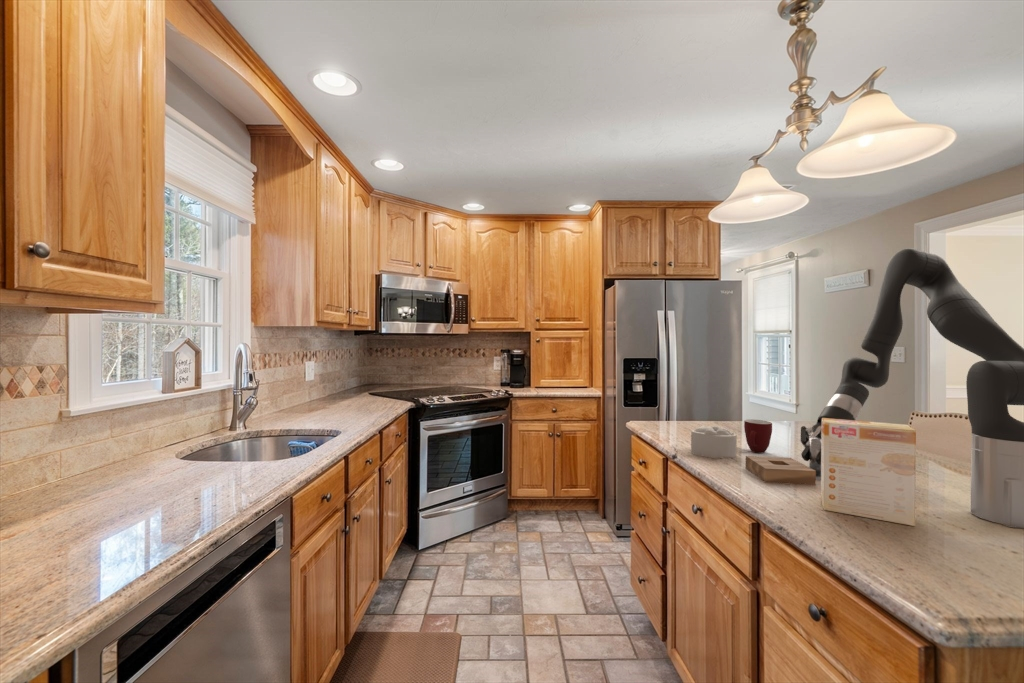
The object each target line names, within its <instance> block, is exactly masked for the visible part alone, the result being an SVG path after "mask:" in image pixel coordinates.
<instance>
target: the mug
mask: <svg viewBox="0 0 1024 683" xmlns="http://www.w3.org/2000/svg"><path fill="white" fill-rule="evenodd" d="M743 424H744V425H743V426H744V433H745V434H744V435H745V440H746V444H747V446H748V447H749V449H750V451H751V452H752V453H758V454H764V453H765V452H766V451H767V449H768V448H769V446H770V443H771V439H772V434H773V422H772V421H768V420H761V419H745V420H744V423H743Z"/></svg>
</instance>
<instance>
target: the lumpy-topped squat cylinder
mask: <svg viewBox="0 0 1024 683" xmlns="http://www.w3.org/2000/svg"><path fill="white" fill-rule="evenodd" d="M737 439H738V438H737V434H736V433H734V432H731V431H730V430H729V429H727V428H725V427H720V426H719V425H712V426H708V425H699V427H697V428H695V429H692V430H691V431H690V453H691V454H693V455H695V456H701V457H704V458H705V457H706V458H712V459H718V460H721V459H722V460H723V458H725V459H728V458H729V459H730V458H737V446H738V445H737Z"/></svg>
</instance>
